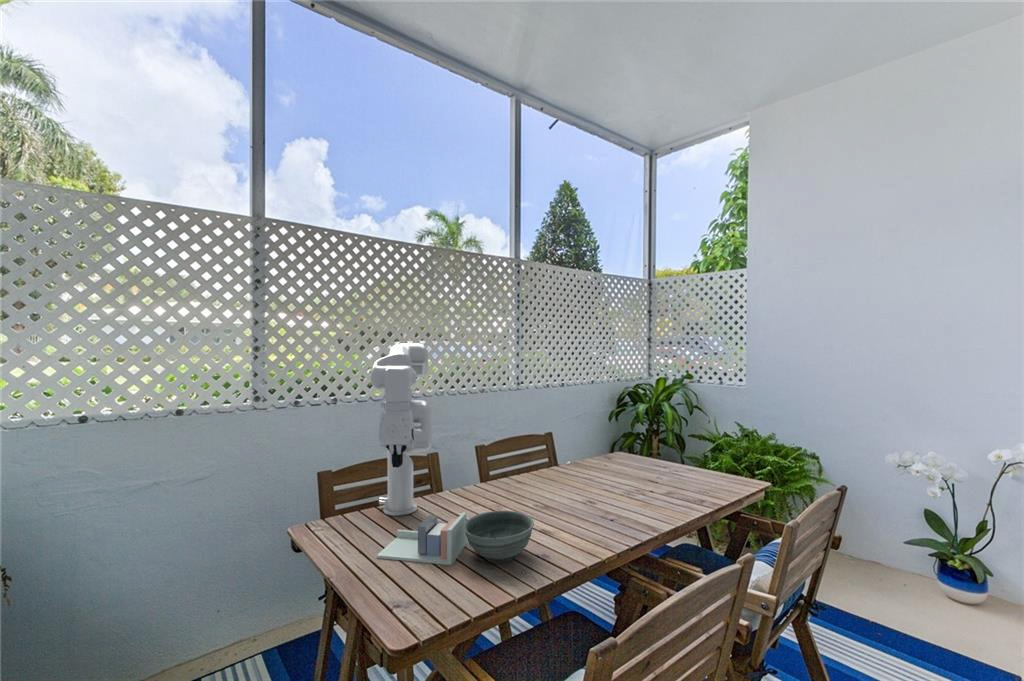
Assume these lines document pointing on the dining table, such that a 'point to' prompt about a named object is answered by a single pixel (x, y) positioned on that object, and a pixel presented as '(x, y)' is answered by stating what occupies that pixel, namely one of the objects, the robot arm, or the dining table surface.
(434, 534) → the book
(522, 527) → the bowl
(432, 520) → the bookend
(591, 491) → the dining table surface
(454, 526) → the mint u-shaped tray
